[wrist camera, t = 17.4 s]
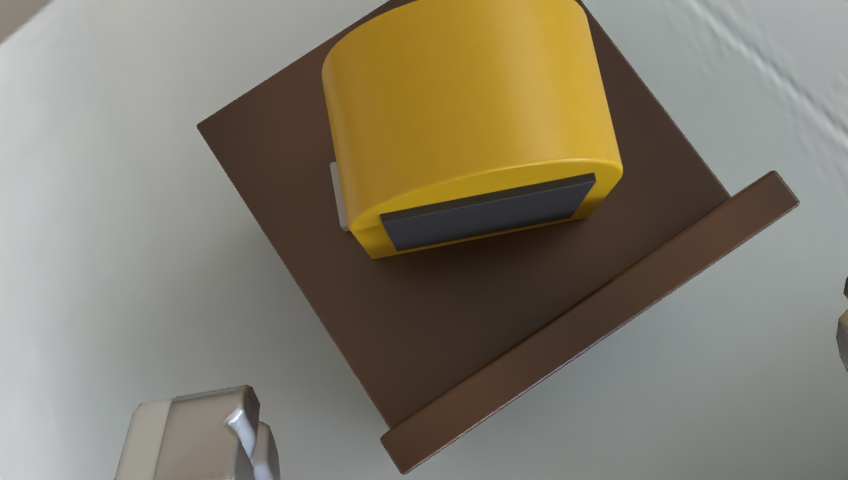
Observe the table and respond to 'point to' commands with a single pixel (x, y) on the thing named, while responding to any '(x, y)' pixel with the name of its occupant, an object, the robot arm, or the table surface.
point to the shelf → (480, 254)
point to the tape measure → (467, 122)
